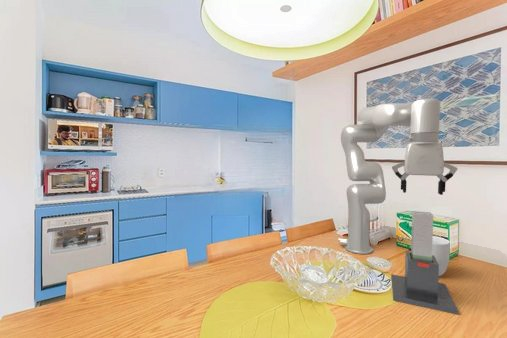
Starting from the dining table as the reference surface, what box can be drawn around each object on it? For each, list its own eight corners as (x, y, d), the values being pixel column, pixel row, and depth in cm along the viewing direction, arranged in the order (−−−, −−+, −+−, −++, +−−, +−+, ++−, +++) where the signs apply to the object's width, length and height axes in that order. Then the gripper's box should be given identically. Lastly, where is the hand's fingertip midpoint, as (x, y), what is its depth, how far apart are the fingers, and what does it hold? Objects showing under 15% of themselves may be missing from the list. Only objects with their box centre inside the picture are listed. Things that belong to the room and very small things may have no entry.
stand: (393, 300, 78) (393, 262, 78) (391, 278, 93) (391, 246, 92) (457, 314, 71) (459, 272, 71) (444, 288, 86) (446, 253, 85)
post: (412, 276, 81) (413, 214, 80) (410, 269, 85) (412, 210, 84) (431, 279, 78) (433, 215, 77) (428, 272, 83) (430, 212, 82)
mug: (426, 283, 89) (427, 246, 88) (399, 270, 100) (400, 237, 99) (456, 277, 93) (457, 242, 93) (428, 265, 104) (428, 233, 103)
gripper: (393, 139, 80) (391, 192, 81) (461, 137, 73) (459, 197, 74) (392, 140, 87) (390, 189, 88) (455, 139, 79) (452, 193, 80)
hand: (421, 193), depth 81 cm, fingers open, 9 cm apart
